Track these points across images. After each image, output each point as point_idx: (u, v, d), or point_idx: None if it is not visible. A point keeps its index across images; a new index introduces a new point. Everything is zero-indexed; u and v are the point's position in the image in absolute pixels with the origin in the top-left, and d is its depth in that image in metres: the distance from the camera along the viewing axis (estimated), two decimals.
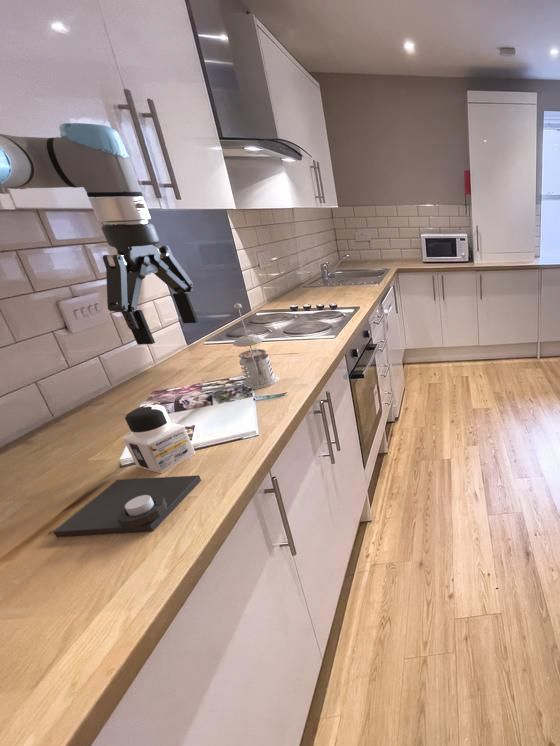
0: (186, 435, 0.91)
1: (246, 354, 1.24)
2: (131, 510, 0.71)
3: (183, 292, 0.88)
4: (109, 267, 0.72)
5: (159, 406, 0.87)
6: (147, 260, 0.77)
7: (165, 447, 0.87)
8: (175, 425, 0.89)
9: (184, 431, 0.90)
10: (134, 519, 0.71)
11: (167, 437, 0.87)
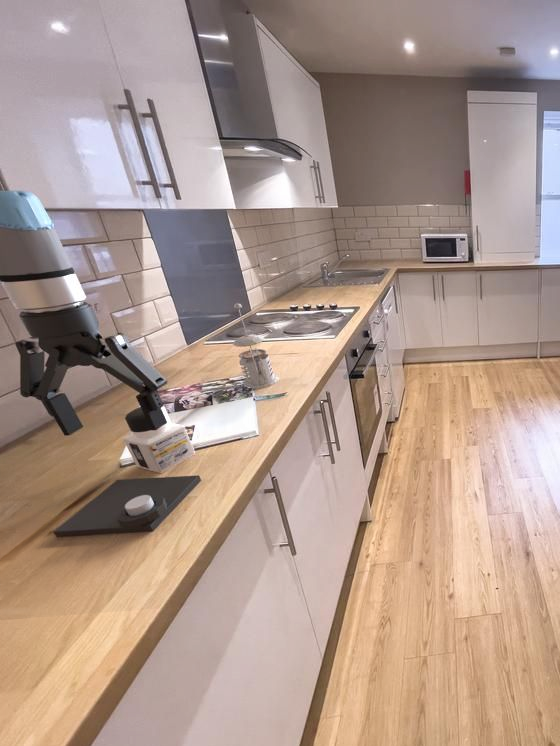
0: (186, 435, 0.91)
1: (246, 354, 1.24)
2: (131, 510, 0.71)
3: None
4: (121, 349, 0.63)
5: None
6: None
7: (165, 447, 0.87)
8: (175, 425, 0.89)
9: (184, 431, 0.90)
10: (134, 519, 0.71)
11: (167, 437, 0.87)
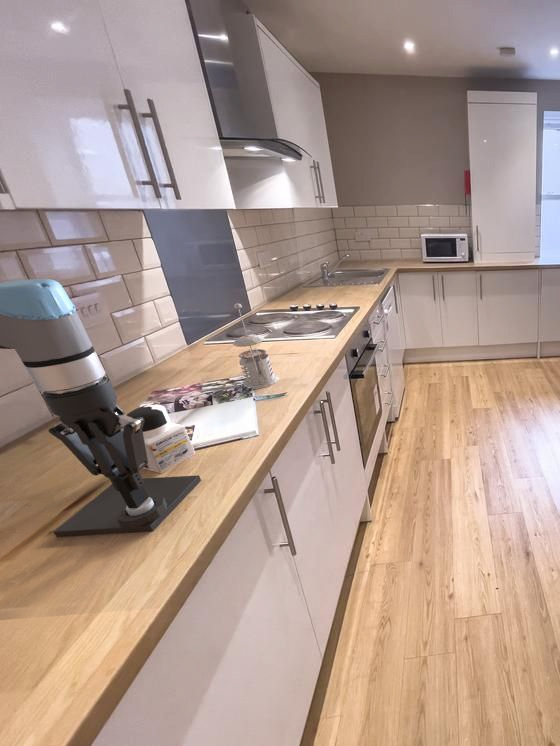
0: (186, 435, 0.91)
1: (246, 354, 1.24)
2: (132, 512, 0.71)
3: None
4: (133, 434, 0.66)
5: (159, 406, 0.87)
6: None
7: (165, 447, 0.87)
8: (175, 425, 0.89)
9: (184, 431, 0.90)
10: (134, 519, 0.71)
11: (167, 437, 0.87)
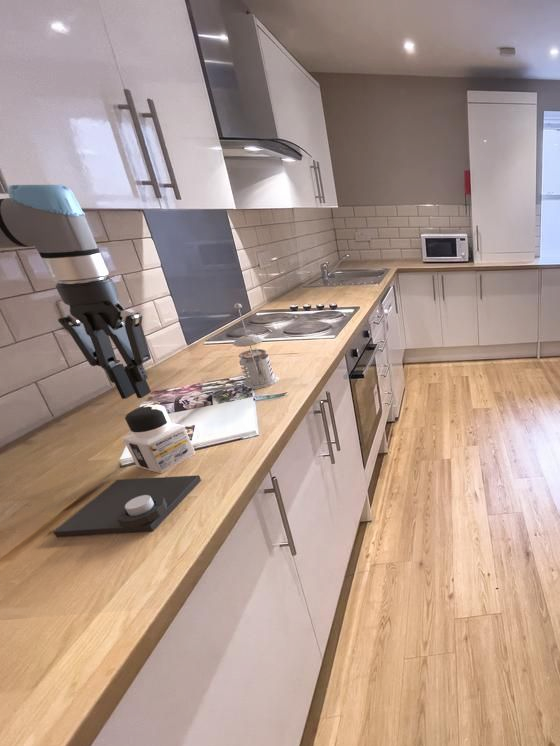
0: (186, 435, 0.91)
1: (246, 354, 1.24)
2: (131, 510, 0.71)
3: None
4: (134, 326, 0.77)
5: (159, 406, 0.87)
6: None
7: (165, 447, 0.87)
8: (175, 425, 0.89)
9: (184, 431, 0.90)
10: (134, 519, 0.71)
11: (167, 437, 0.87)
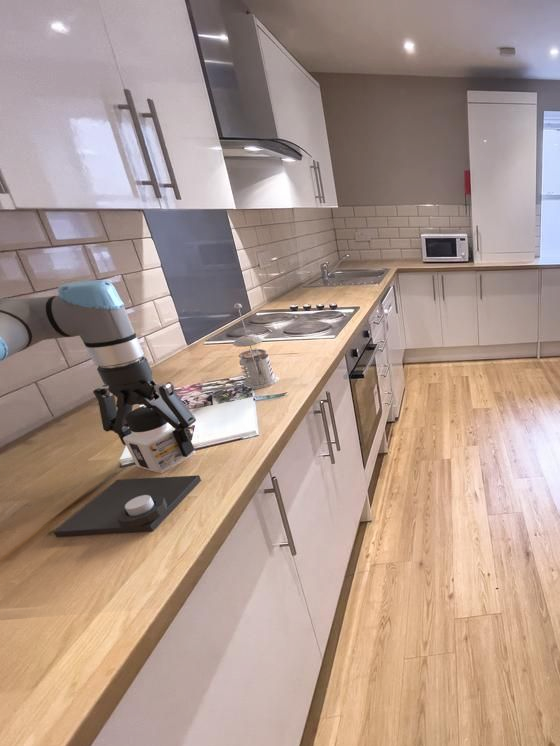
0: None
1: (246, 354, 1.24)
2: (131, 510, 0.71)
3: None
4: (169, 395, 0.84)
5: None
6: None
7: (165, 447, 0.87)
8: None
9: None
10: (134, 519, 0.71)
11: (167, 437, 0.87)
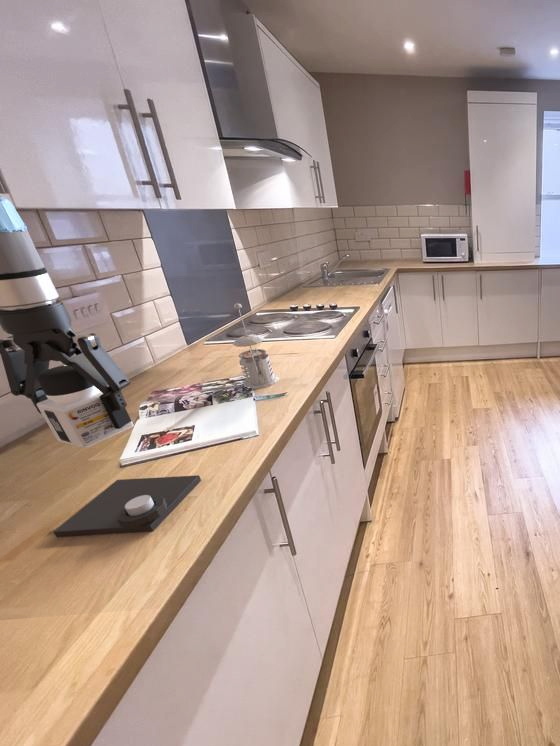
0: None
1: (246, 354, 1.24)
2: (131, 510, 0.71)
3: None
4: (92, 349, 0.67)
5: None
6: None
7: (91, 416, 0.70)
8: None
9: None
10: (134, 519, 0.71)
11: (93, 403, 0.70)
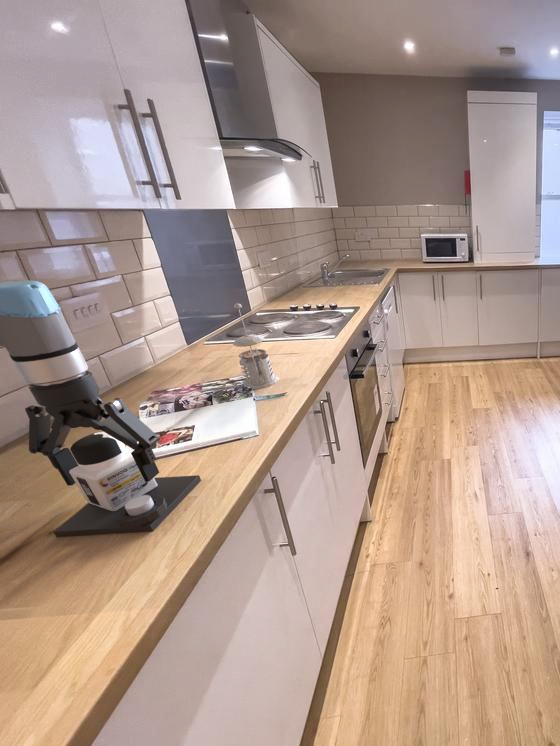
0: None
1: (246, 354, 1.24)
2: (131, 510, 0.71)
3: (60, 449, 0.74)
4: (118, 413, 0.71)
5: None
6: None
7: (119, 481, 0.74)
8: None
9: None
10: (134, 519, 0.71)
11: (121, 469, 0.75)
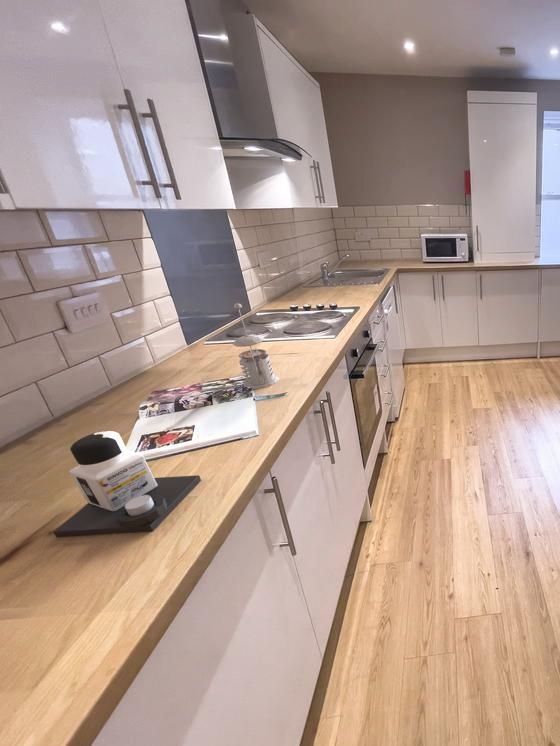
0: (146, 465, 0.78)
1: (246, 354, 1.24)
2: (131, 510, 0.71)
3: None
4: None
5: (112, 433, 0.75)
6: None
7: (119, 481, 0.74)
8: (132, 454, 0.77)
9: (143, 461, 0.78)
10: (134, 519, 0.71)
11: (121, 469, 0.75)
